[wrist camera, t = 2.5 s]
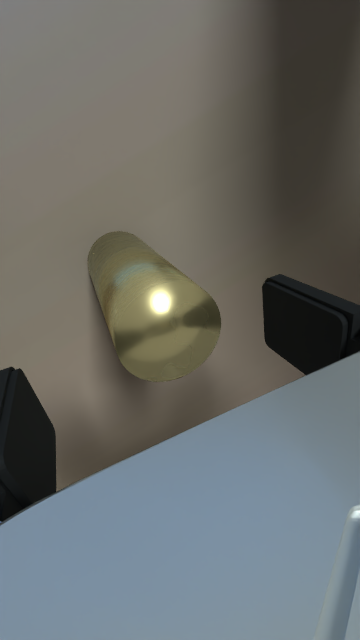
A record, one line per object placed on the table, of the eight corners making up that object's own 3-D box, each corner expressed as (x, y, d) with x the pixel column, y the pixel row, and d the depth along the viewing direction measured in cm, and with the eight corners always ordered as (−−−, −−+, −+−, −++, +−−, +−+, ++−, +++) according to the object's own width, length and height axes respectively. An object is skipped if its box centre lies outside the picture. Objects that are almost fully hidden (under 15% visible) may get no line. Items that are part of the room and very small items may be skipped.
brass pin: (78, 240, 17) (100, 303, 9) (142, 224, 18) (214, 268, 10) (98, 300, 19) (131, 396, 11) (155, 282, 20) (225, 359, 12)
